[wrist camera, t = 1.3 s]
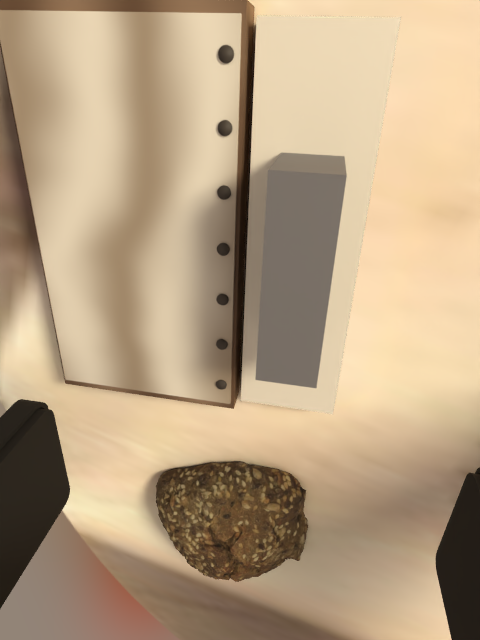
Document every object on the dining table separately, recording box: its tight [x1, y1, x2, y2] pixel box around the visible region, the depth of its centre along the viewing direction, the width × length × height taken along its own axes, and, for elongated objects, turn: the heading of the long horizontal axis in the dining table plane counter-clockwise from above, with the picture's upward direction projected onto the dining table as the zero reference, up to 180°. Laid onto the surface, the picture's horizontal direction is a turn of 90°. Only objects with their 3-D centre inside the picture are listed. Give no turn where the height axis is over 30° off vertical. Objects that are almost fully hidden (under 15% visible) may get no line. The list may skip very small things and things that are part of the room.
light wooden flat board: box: [0, 0, 254, 409], centre depth 25 cm, size 12×22×2 cm, turn 178°
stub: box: [241, 15, 401, 414], centre depth 22 cm, size 6×21×7 cm, turn 178°
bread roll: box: [156, 462, 308, 582], centre depth 35 cm, size 13×12×5 cm
